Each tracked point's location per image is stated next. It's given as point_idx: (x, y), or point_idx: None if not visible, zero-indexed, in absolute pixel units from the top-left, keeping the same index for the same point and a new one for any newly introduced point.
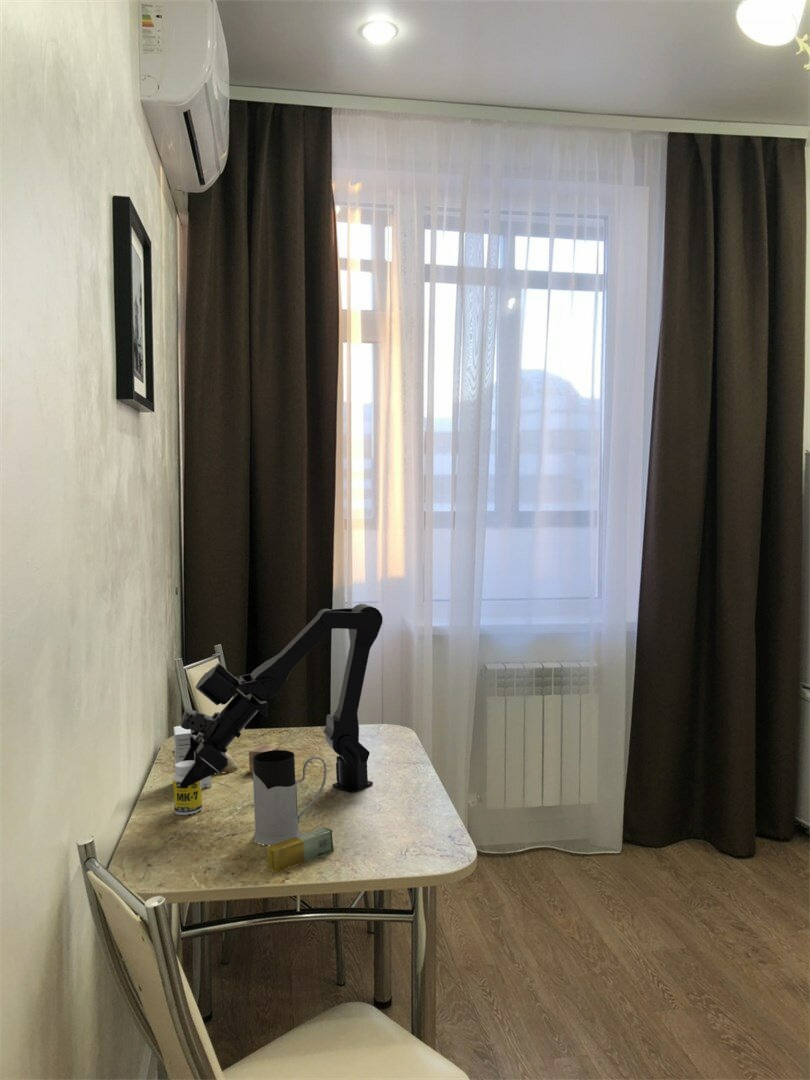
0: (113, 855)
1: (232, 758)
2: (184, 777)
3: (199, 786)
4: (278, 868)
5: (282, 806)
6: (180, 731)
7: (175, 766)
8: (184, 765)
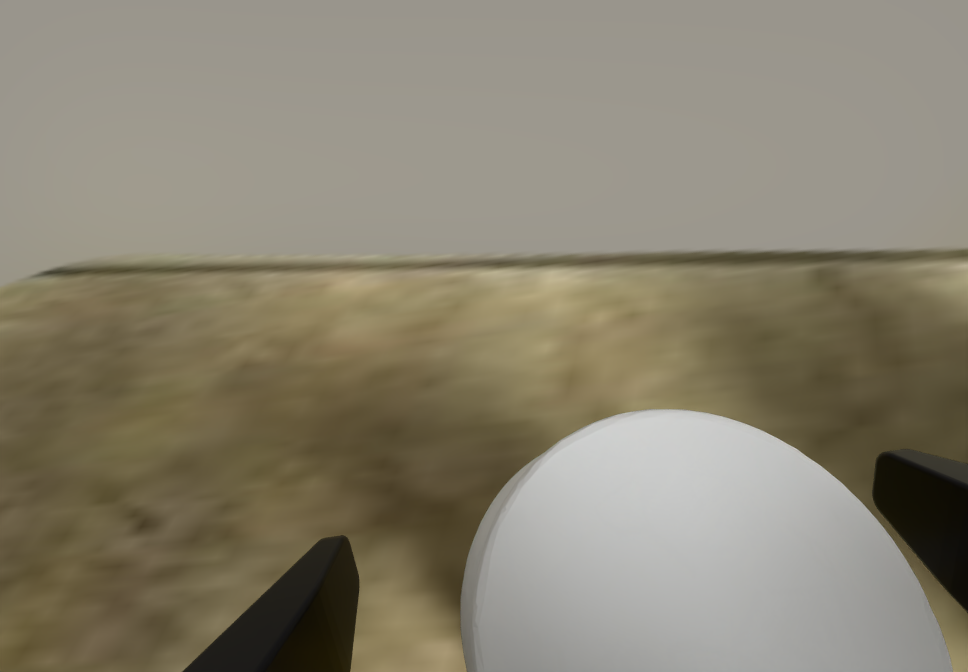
0: (102, 273)
1: None
2: (270, 607)
3: None
4: None
5: None
6: None
7: (592, 424)
8: (577, 590)
